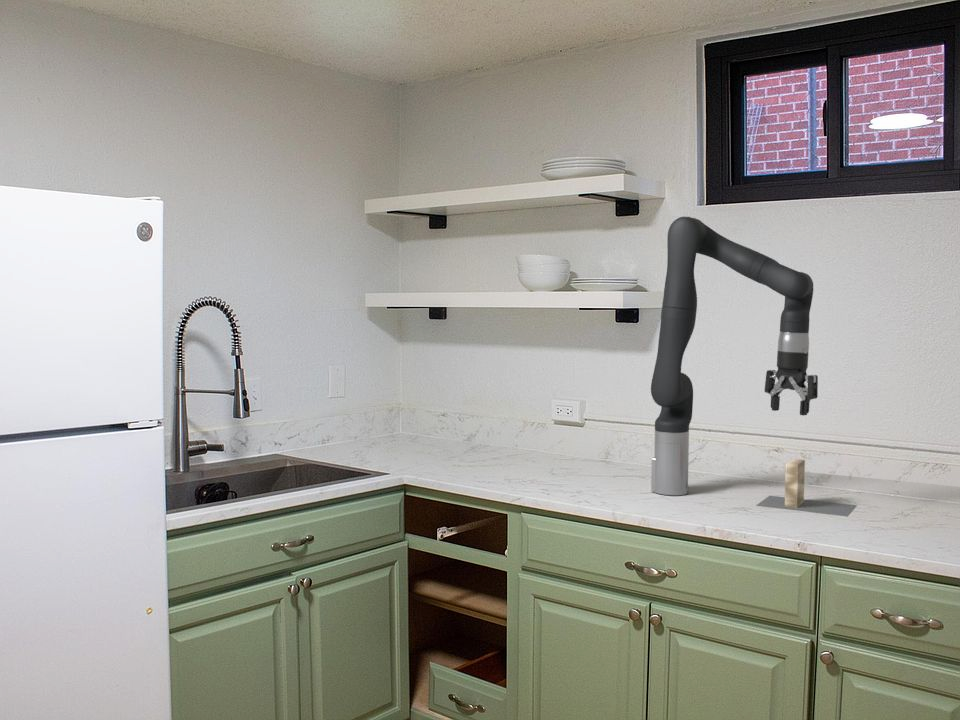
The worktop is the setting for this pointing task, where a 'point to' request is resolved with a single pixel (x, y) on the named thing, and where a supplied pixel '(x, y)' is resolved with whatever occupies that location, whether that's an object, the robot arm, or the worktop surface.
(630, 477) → the worktop surface
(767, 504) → the rubber mat
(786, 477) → the cream brown rectangular block
